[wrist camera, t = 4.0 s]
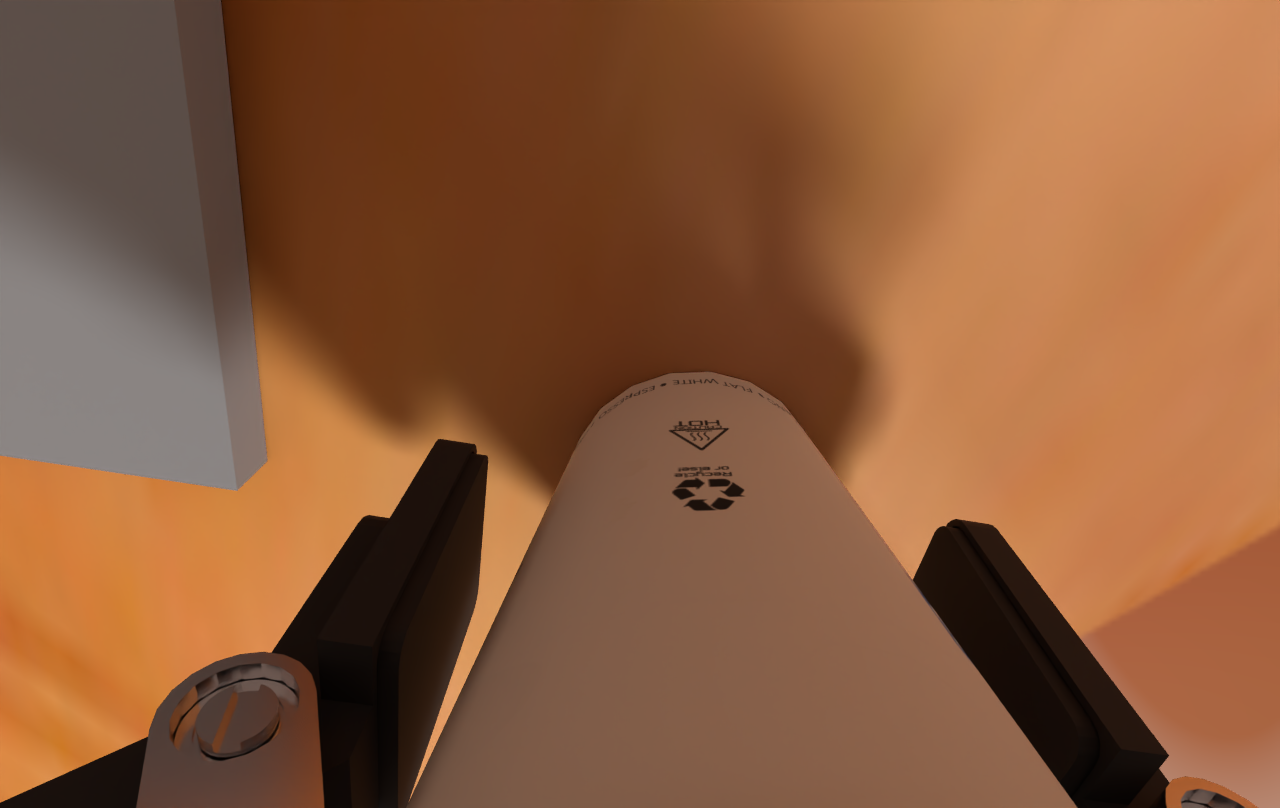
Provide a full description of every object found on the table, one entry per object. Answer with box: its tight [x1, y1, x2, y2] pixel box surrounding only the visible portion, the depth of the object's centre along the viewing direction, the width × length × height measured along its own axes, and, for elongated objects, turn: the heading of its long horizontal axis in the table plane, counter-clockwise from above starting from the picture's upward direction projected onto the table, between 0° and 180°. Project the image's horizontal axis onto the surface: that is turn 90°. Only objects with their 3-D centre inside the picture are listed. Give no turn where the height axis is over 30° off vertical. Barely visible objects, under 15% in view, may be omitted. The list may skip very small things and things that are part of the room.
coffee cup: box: [406, 372, 1077, 808], centre depth 8 cm, size 7×7×10 cm
